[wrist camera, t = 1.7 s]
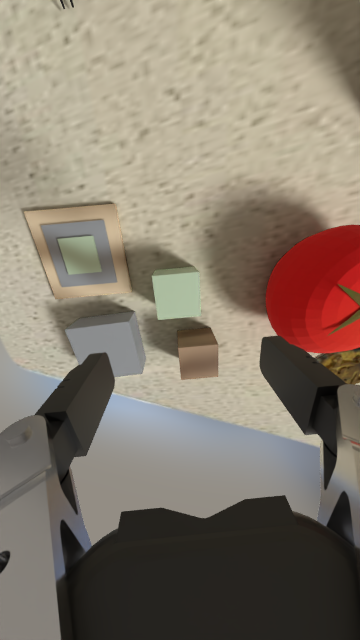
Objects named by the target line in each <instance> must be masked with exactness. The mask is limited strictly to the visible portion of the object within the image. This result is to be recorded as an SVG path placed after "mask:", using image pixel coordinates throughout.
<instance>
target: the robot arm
mask: <svg viewBox="0 0 360 640" xmlns="http://www.w3.org/2000/svg"><path fill="white" fill-rule="evenodd" d="M260 369H261V372H262V374H263V376H264V377H265V379H266V380H267V382H268V383H269V384H270V386H271V387H272V389H273V390H274V391H275V393H276V394H277V396H278V397H279V399H280V400H281V401H282V403H283V404H284V406H285V407H286V409H287V410H288V411H289V413H290V414H291V416H292V417H293V419H294V420H295V421H296V423H297V424H298V426H299V427H300V428H301V430H302V431H303V433H304V434H305V435H311V434H318V435H319V436H320V437H321V439H322V440H321V443H320V504H319V510H318V517H317V521H316V520H314V519H312V518H310V517H308V516H305V515H303V514H300V513H297V512H294V511H292V510H291V508H290V505H289V503H288V501H287V499H286V497H285V495H284V496H274V497H264V498H255V499H245V500H243V501H241V502H239V503H237V504H235V505H233V506H231V507H229V508H227V509H225V510H223V511H221V512H219V513H217V514H215V515H213V516H211V517H208V518H198V517H195V516H190V515H187V514H183V513H179V512H176V511H172V510H168V509H164V508H154V509H144V510H134V511H124V512H121V516H120V522H119V527H118V529H116V530H113V531H112V532H110V533H109V534H107V535H106V536H104V537H103V538H102V539H100V540H99V541H98V542H97V543H95V544H94V545H93V546H92V545H91V541H90V538H89V536H88V533H87V530H86V528H85V525H84V522H83V518H82V514H81V509H80V505H79V500H78V496H77V492H76V487H75V483H74V478H73V474H72V470H71V467H70V464H71V462H72V460H73V458H74V457H80V456H86V455H87V452H88V450H89V448H90V445H91V443H92V440H93V437H94V435H95V433H96V430H97V428H98V426H99V423H100V421H101V418H102V416H103V413H104V411H105V408H106V406H107V404H108V401H109V399H110V396H111V394H112V392H113V389H114V384H115V379H114V374H113V371H112V367H111V364H110V360H109V357H108V354H107V353H106V352H103V353H93V354H89V355H88V356H87V358H86V359H85V360H84V362H83V363H82V364H81V365H78V366H77V367H75V368H74V369H73V370H71V371H70V372H69V373H68V374H67V376H66V377H65V378H64V379H63V381H62V382H61V383H60V384H59V386H58V388H57V389H55V390H54V392H53V393H52V394H51V395H50V397H49V398H48V399H47V400H46V402H45V403H44V404H43V405H42V406H41V408H40V409H39V410H38V411H37V412H36V414H35V415H33V416H28V417H25V418H23V419H21V420H19V421H17V422H15V423H13V424H12V425H10V426H9V427H7V428H6V429H5V430H4V431H2V432H1V433H0V640H360V385H354V384H347V383H345V382H344V381H343V380H342V379H340V378H339V377H338V376H336V375H335V374H334V373H333V372H331V371H330V370H329V369H328V368H326V367H325V366H324V365H323V364H321V363H319V361H317V360H316V359H315V358H314V357H312V356H311V355H310V354H309V353H307V352H306V351H305V350H304V349H301V348H299V347H297V346H295V345H293V344H290V343H288V342H287V341H286V340H285V339H284V338H282V337H281V336H270V337H264V338H263V339H262V343H261V354H260Z"/></svg>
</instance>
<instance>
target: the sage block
mask: <svg viewBox="0 0 360 640" xmlns="http://www.w3.org/2000/svg"><path fill="white" fill-rule="evenodd" d="M152 282H153V289H154V296H155V303H156V310H157V317H158V320H164V319H175V318H185V317H196V316H201V301H200V276H199V271H198V270H197V269H196V268H195V267H194V266H193V267H182V268H171V269H160V270H155V272H154V273H153V275H152Z"/></svg>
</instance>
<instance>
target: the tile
mask: <svg viewBox="0 0 360 640" xmlns="http://www.w3.org/2000/svg"><path fill="white" fill-rule="evenodd" d="M24 214H25V217H26V219H27V222H28V225H29V228H30V230H31V233H32V236H33V238H34V241H35V244H36V247H37V249H38V252H39V255H40V258H41V260H42V263H43V266H44V269H45V271H46V274H47V277H48V280H49V282H50V285H51V288H52V291H53V293H54V296H55V299H63V298H74V297H86V296H97V295H108V294H119V293H130V292H132V287H131V282H130V276H129V271H128V266H127V260H126V255H125V250H124V245H123V239H122V234H121V229H120V223H119V218H118V213H117V207H116V204H105V205H93V206H82V207H71V208H59V209H48V210H37V211H25V212H24Z"/></svg>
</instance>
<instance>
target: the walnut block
mask: <svg viewBox="0 0 360 640" xmlns="http://www.w3.org/2000/svg"><path fill="white" fill-rule="evenodd" d="M177 337H178V352H179V362H180V372H181V380H185V379H196V378H207V377H218V343H217V341H216V339H215V336H214V334H213V332H212V330H211V328H200V329H189V330H178V331H177Z"/></svg>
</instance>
